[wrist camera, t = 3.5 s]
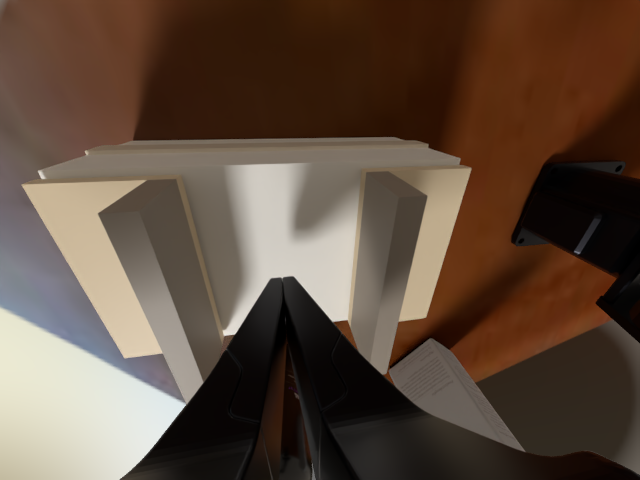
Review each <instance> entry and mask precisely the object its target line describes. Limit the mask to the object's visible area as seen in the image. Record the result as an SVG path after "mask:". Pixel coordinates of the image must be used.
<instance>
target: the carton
mask: <svg viewBox="0 0 640 480" xmlns="http://www.w3.org/2000/svg"><path fill="white" fill-rule="evenodd" d="M428 145H429V144H426V143H423V142H420V141H416V140H407V141H405V140H402V139H399V138H396V137H360V138H289V139H218V140H147V141H130V142H127V143H124V144H120V145H103V146H99V147H96V148H92V149H89V150H86V151H85V153H86V156H83V157H80V158H76V159H73V160H70V161H67V162H64V163H61V164H58V165H54V166H51V167H48V168H45V169H42V170H39V171H38V173H39V175H40V176H41V178H42V179H64V178H94V177H123V176H153V175H181V176H182V180H183V183H184V187H185V191H186V195H187V198H188V202H189V206H190V210H191V214H192V217H193V221H194V225H195V229H196V232H197V236H198V240H199V244H200V247H201V251H202V255H203V259H204V262H205V266H206V270H207V274H208V278H209V281H210V285H211V289H212V293H213V296H214V300H215V304H216V308H217V311H218V315H219V319H220V323H221V327H222V330H223V334H224V336H226V335H234V334H236V332H237V331H238V329H239V328H240V326H241V324H242V323H243V321H244V320H245V318H246V316H247V315H248V313H249V312H250V310H251V308H252V307H253V305H254V304H255V302H256V301H257V299H258V297H259V296H260V294H261V293H262V291H263V289H264V288H265V286H266V285H267V283H268V281H269V280H270V279H271V278H277V277H281V278H283V277H287V276H294V277H295V278H296V279H297V280H298V282H299V283H300V284H301V285H302V286H303V288H304V289H305V290H306V291H307V292H308V293H309V295H310V296H311V297H312V298H313V299H314V300H315V302H316V303H317V304H318V305H319V306H320V308H321V309H322V310H323V311H324V312H325V313H326V315H327V316H328V317H329V318H330V319H331V320H332V322H334V321H342V320H348V313H349V302H350V291H351V280H352V269H353V258H354V247H355V236H356V225H357V214H358V203H359V192H360V181H361V170H362V168H390V167H419V166H449V165H459V163H460V159H461V158H458V157H454V156H451V155H448V154H445V153H442V152H439V151H436V150H433V149H430V148H428ZM282 282H283V281H282ZM285 321H286V320H285Z"/></svg>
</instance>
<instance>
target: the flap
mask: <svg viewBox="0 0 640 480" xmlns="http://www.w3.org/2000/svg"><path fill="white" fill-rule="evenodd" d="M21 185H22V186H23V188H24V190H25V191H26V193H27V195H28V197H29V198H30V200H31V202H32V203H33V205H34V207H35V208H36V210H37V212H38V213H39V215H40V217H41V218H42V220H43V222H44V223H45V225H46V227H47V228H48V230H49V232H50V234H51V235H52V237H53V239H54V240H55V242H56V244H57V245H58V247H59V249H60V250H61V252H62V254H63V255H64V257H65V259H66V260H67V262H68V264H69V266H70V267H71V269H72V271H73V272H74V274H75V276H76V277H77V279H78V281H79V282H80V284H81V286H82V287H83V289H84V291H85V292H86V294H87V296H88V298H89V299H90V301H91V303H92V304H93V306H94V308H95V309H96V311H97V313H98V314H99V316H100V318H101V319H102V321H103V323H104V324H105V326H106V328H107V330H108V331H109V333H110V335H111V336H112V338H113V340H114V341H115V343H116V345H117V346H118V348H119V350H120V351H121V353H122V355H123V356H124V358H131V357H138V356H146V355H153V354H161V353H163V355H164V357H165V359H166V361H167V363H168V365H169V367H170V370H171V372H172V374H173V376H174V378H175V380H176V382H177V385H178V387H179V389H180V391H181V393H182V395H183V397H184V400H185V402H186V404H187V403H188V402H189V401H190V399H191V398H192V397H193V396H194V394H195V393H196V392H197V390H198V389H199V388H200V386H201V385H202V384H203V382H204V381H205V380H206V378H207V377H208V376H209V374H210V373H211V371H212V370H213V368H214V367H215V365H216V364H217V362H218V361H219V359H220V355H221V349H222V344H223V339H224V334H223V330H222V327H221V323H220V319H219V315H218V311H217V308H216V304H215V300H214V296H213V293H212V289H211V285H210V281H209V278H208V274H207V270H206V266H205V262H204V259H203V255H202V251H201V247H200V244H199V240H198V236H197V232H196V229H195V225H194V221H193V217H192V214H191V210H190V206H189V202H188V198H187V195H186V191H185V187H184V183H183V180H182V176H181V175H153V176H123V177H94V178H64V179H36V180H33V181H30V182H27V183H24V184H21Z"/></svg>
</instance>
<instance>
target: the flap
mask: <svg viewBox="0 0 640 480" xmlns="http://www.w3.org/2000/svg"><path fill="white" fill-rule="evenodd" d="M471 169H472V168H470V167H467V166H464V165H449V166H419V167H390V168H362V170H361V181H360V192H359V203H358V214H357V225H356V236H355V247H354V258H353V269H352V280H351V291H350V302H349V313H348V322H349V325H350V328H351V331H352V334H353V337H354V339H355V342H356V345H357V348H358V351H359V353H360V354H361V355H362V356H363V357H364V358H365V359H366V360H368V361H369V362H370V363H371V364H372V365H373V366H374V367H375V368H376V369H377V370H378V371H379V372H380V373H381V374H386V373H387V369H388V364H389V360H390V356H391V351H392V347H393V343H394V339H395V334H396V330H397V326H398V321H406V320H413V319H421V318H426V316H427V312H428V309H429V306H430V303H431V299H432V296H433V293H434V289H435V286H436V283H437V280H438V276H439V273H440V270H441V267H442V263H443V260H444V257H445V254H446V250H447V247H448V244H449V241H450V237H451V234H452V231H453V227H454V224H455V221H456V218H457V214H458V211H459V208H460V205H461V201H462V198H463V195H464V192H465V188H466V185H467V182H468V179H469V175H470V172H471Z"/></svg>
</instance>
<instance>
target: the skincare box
mask: <svg viewBox="0 0 640 480" xmlns="http://www.w3.org/2000/svg"><path fill="white" fill-rule="evenodd" d="M389 373H390V375H391V378H392V380H393V382H394V384H395V387H396V388H398V389H399V390H400V391H401V392H402V393H403V394H404V395H405V396H406V397H407V398H408V399H410V400H411V401H412V402H413V403H414V404H416V405H417V406H418V407H420V408H421V409H423V410H424V411H426V412H428V413H430V414H431V415H434V416H436V417H438V418H441V419H443V420H446V421H448V422H451V423H453V424H456V425H458V426H460V427H463V428H465V429H468V430H470V431H473V432H475V433H478V434H480V435H483V436H485V437H488V438H490V439H493V440H495V441H497V442H500V443H502V444H505V445H507V446H510V447H512V448H515V449H518V450H521V451H524V449H523V448H522V447H521V445H520V444H519V443H518V441H517V440H516V439H515V437H514V436H513V434H512V433H511V432H510V430H509V429H508V428H507V426H506V425H505V424H504V422H503V421H502V420H501V418H500V417H499V415H498V414H497V413H496V411H495V410H494V409H493V407H492V406H491V405H490V403H489V402H488V401H487V399H486V398H485V396H484V395H483V394H482V392H481V391H480V390H479V388H478V387H477V385H476V384H475V383H474V381H473V380H472V379H471V377H470V376H469V375H468V373H467V372H466V371H465V369H464V368H463V366H462V365H461V364H460V362H459V361H458V360H457V358H456V357H455V356H454V354H453V353H452V352H451V351H450V350H449V349H447V348H446V347H444V346H443V345H441V344H440V343H438V342H437V341H435V340H434V339H432V338H430V339H428V340H427V341H426V342H424V343H423V344H422V345H421V346H419V347H418V348H417V349H415V350H414V351H413V352H412V353H410V354H409V355H408V356H406V357H405V358H404V359H403V360H401V361H400V362H399V363H397V364H396V365H395V366H394V367H392V368H391V369H390V370H389ZM524 452H525V451H524Z"/></svg>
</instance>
